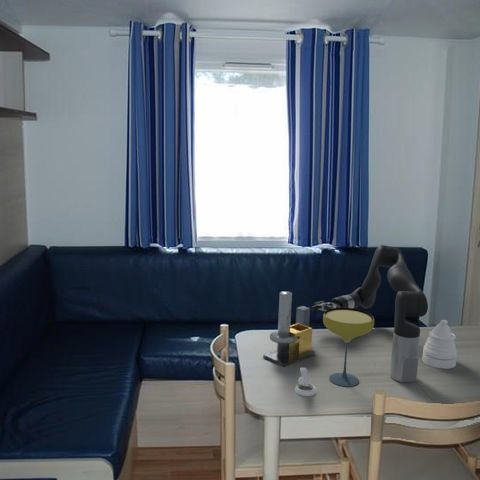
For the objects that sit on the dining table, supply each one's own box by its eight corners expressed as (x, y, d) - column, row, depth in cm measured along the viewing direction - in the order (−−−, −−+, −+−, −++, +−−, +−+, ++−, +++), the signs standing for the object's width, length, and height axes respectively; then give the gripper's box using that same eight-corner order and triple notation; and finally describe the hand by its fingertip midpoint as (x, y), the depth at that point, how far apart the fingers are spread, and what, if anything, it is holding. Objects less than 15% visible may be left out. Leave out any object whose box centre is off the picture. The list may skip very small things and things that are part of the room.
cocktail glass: (373, 375, 206) (378, 312, 201) (363, 395, 190) (369, 327, 185) (326, 366, 213) (330, 304, 208) (313, 384, 197) (317, 318, 192)
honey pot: (458, 370, 213) (463, 326, 210) (424, 366, 216) (428, 323, 212) (452, 357, 225) (457, 315, 222) (420, 353, 228) (424, 312, 224)
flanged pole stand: (283, 366, 211) (286, 299, 206) (263, 357, 219) (265, 292, 214) (315, 354, 224) (319, 290, 218) (295, 346, 232) (298, 284, 226)
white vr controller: (289, 385, 184) (289, 367, 189) (296, 403, 192) (295, 385, 197) (311, 383, 182) (310, 365, 187) (317, 401, 191) (316, 383, 195)
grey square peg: (301, 346, 232) (303, 310, 229) (294, 343, 235) (296, 307, 232) (308, 343, 235) (310, 308, 232) (301, 341, 238) (302, 305, 235)
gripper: (330, 292, 255) (307, 299, 245) (355, 300, 245) (332, 307, 234) (329, 308, 257) (306, 315, 246) (354, 316, 247) (331, 324, 236)
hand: (319, 311), depth 240 cm, fingers open, 8 cm apart
